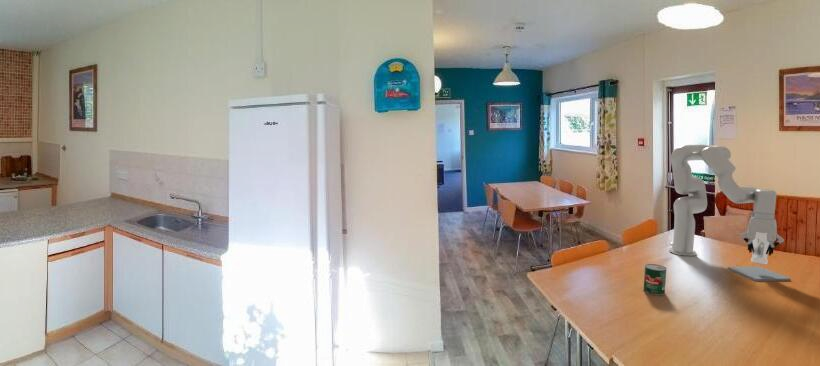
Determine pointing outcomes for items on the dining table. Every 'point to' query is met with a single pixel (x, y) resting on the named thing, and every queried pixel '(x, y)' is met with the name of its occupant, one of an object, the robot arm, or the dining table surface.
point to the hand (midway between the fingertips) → (760, 253)
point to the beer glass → (760, 248)
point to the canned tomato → (655, 279)
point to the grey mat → (759, 274)
